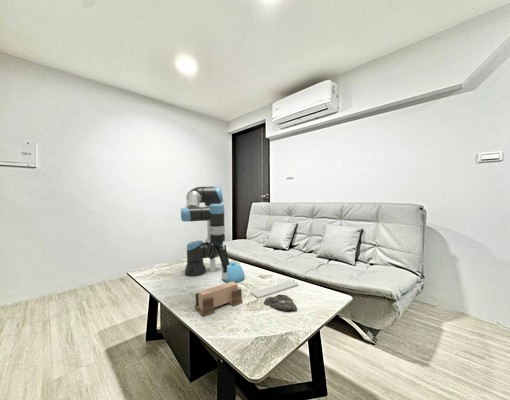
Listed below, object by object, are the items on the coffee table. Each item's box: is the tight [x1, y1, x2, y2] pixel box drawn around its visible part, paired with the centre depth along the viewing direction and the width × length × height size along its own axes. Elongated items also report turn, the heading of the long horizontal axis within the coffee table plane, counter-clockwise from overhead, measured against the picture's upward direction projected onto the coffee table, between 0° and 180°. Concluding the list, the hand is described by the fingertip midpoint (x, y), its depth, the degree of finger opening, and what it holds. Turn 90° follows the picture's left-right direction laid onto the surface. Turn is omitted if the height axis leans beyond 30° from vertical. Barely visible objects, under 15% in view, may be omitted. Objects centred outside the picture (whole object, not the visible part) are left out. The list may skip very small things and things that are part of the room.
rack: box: [194, 288, 244, 318], centre depth 112 cm, size 10×22×7 cm, turn 126°
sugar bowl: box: [223, 261, 245, 283], centre depth 148 cm, size 15×15×12 cm
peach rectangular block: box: [197, 281, 239, 311], centre depth 112 cm, size 5×20×8 cm, turn 128°
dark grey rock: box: [263, 294, 298, 313], centre depth 112 cm, size 19×4×15 cm
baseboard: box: [249, 278, 299, 300], centre depth 131 cm, size 30×3×10 cm
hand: (218, 274), depth 112 cm, fingers open, 13 cm apart
